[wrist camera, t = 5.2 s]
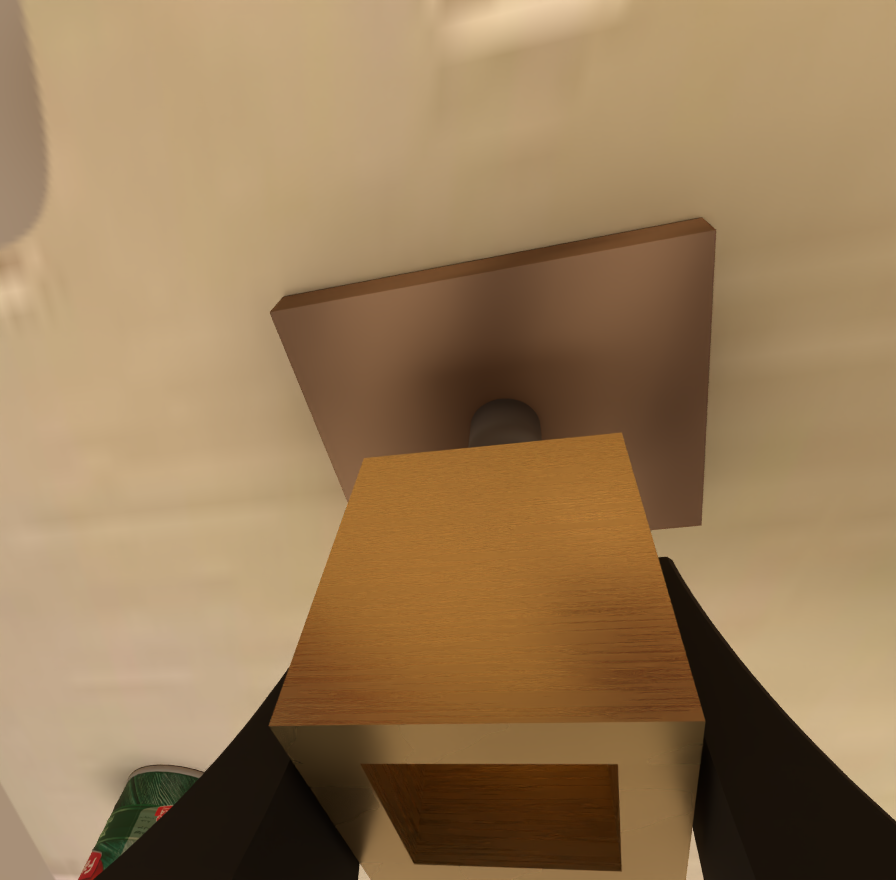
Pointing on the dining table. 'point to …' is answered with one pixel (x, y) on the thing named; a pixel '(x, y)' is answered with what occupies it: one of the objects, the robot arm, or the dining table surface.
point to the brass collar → (498, 672)
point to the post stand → (522, 357)
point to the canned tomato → (138, 811)
